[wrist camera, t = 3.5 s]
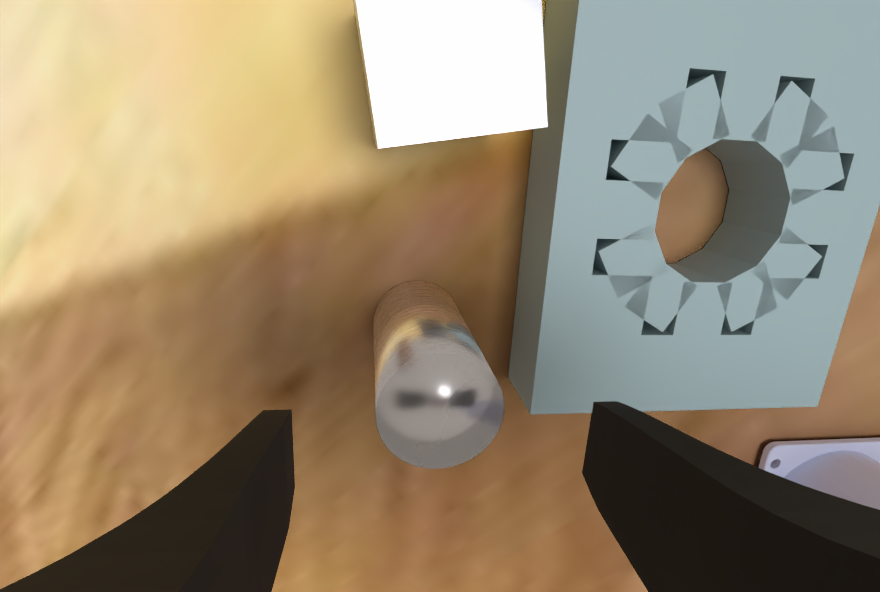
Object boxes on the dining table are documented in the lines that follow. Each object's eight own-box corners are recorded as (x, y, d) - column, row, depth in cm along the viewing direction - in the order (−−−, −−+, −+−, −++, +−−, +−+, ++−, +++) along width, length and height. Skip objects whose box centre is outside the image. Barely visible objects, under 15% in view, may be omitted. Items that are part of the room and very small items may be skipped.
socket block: (760, 373, 22) (817, 406, 20) (508, 377, 21) (530, 414, 18) (857, 6, 18) (948, -20, 15) (548, -28, 16) (586, -65, 14)
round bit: (455, 360, 20) (498, 465, 13) (373, 361, 20) (374, 471, 13) (461, 281, 19) (509, 353, 13) (373, 280, 19) (376, 353, 12)
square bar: (490, 132, 18) (547, 126, 12) (375, 147, 17) (378, 148, 12) (479, 2, 16) (537, -74, 11) (354, 14, 16) (347, -57, 10)
